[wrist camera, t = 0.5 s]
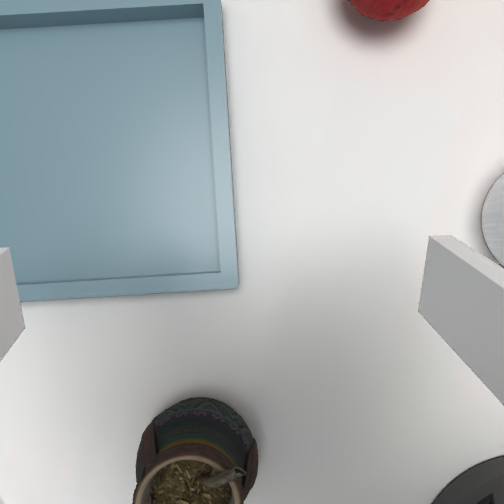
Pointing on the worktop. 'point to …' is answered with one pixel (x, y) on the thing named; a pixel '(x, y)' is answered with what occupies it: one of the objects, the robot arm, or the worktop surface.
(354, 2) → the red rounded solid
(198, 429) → the mate gourd
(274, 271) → the worktop surface
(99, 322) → the worktop surface
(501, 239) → the ramekin
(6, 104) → the slate tray
